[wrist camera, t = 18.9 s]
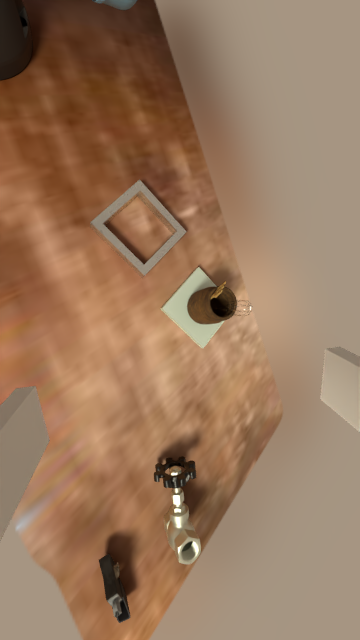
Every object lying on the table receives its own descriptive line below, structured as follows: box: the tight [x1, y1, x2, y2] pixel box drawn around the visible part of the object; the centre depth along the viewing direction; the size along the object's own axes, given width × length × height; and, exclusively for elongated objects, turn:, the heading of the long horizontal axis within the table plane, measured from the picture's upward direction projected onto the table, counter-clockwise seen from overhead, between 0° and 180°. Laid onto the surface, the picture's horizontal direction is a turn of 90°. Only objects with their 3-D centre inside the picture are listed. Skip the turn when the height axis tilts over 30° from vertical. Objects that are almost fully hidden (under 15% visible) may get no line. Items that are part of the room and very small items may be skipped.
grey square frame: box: [90, 180, 186, 278], centre depth 40 cm, size 11×11×2 cm
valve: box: [154, 456, 201, 564], centre depth 38 cm, size 7×7×12 cm
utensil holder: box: [187, 281, 252, 324], centre depth 38 cm, size 6×6×12 cm
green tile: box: [161, 267, 225, 348], centre depth 44 cm, size 10×10×1 cm
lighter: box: [99, 554, 130, 623], centre depth 35 cm, size 9×2×6 cm
